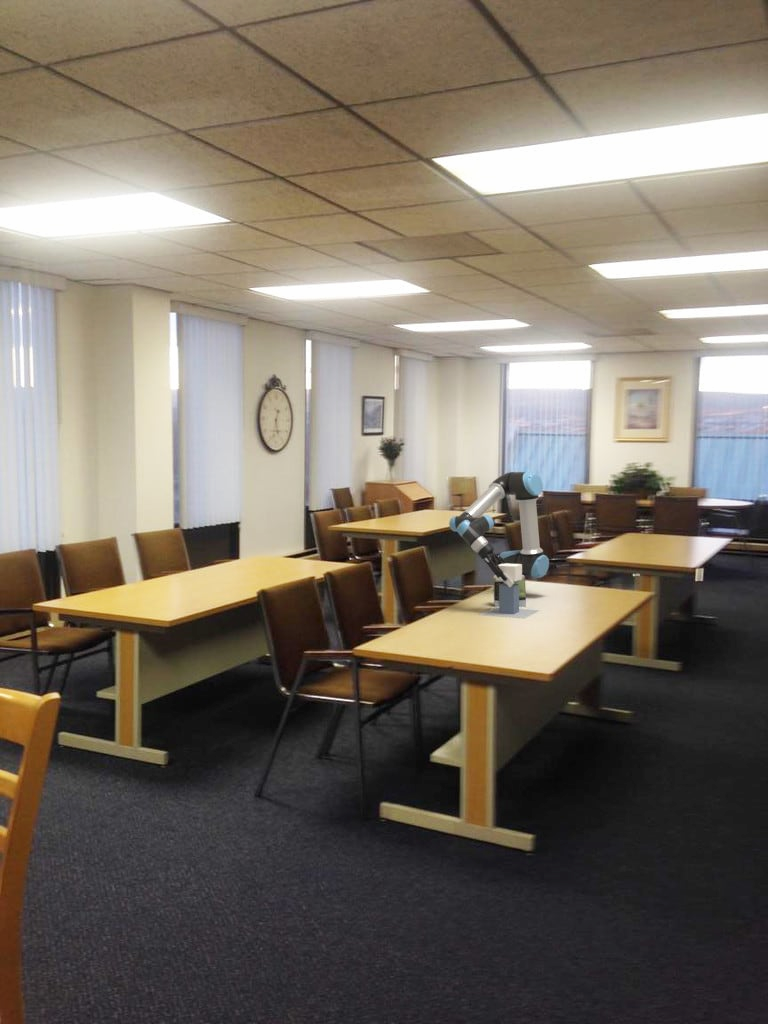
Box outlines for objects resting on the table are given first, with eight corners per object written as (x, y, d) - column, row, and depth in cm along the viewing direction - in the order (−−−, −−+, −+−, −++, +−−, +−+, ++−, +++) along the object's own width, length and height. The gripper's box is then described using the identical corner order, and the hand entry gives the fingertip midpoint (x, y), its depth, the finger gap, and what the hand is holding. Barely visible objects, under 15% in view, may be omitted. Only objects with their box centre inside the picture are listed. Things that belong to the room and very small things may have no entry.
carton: (504, 610, 399) (504, 583, 399) (519, 611, 396) (519, 584, 395) (499, 613, 393) (499, 585, 392) (513, 614, 390) (513, 586, 389)
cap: (503, 577, 400) (503, 563, 400) (522, 578, 396) (522, 564, 395) (496, 580, 392) (496, 565, 391) (515, 581, 387) (515, 566, 387)
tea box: (524, 604, 419) (524, 574, 418) (525, 608, 409) (525, 577, 408) (493, 604, 420) (493, 574, 420) (494, 607, 410) (494, 577, 410)
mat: (495, 608, 410) (495, 607, 410) (540, 611, 399) (540, 610, 399) (477, 615, 390) (477, 614, 390) (524, 619, 380) (524, 618, 380)
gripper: (486, 550, 410) (518, 585, 403) (468, 556, 391) (501, 593, 384) (496, 540, 407) (529, 574, 400) (479, 545, 388) (512, 581, 381)
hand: (515, 583), depth 392 cm, fingers closed on cap, 9 cm apart
